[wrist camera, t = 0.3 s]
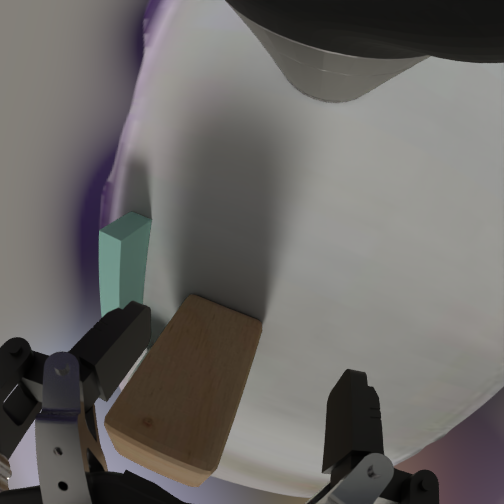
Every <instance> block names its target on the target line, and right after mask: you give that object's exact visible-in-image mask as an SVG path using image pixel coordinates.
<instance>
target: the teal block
mask: <svg viewBox="0 0 504 504" xmlns="http://www.w3.org/2000/svg"><path fill="white" fill-rule="evenodd" d="M151 222H152V220H151V219H149V218H147V217H144V216H142V215H139V214H137V213H134V212H132V211H131V212H129V213H127V214H126V215H124V216H122V217H121V218H119V219H117V220H116V221H114V222H112V223H111V224H109V225H107V226H106V227H104V228H102V229H101V230H99V282H100V300H101V314H102V317H103V316H104V315H105V314H106V313H107V312H109V311H112V310H114V309H116V308H118V307H119V308H121V309H124V308H125V306H126V305H127V304H128V303H129V302H131V301H136V302H138V303H141V304H143V291H144V279H145V269H146V260H147V251H148V243H149V236H150V229H151Z"/></svg>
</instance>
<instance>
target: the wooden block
mask: <svg viewBox="0 0 504 504" xmlns="http://www.w3.org/2000/svg"><path fill="white" fill-rule="evenodd" d="M261 333H262V323H261V322H260V321H259V320H257V319H255V318H252V317H249V316H247V315H244V314H242V313H239V312H237V311H234V310H231V309H229V308H226V307H224V306H221V305H219V304H217V303H214V302H212V301H209V300H207V299H204V298H202V297H200V296H197V295H189V296H188V297H187V298H186V299H185V301H184V302H183V303H182V305H181V306H180V308H179V309H178V310H177V312H176V313H175V315H174V316H173V317H172V319H171V320H170V322H169V323H168V325H167V326H166V327H165V329H164V330H163V332H162V333H161V335H160V336H159V338H158V339H157V340H156V342H155V343H154V345H153V346H152V348H151V349H150V351H149V352H148V353H147V355H146V356H145V358H144V359H143V361H142V362H141V364H140V365H139V367H138V368H137V370H136V371H135V373H134V374H133V376H132V377H131V379H130V380H129V381H128V383H127V384H126V386H125V387H124V389H123V390H122V392H121V394H120V395H119V397H118V398H117V400H116V401H115V403H114V404H113V406H112V407H111V409H110V410H109V412H108V413H107V415H106V416H105V421H104V426H105V428H106V430H107V432H108V435H109V437H110V439H111V441H112V443H113V445H114V447H115V449H116V450H117V452H118V453H119V454H120V455H122V456H124V457H126V458H128V459H130V460H131V461H133V462H135V463H137V464H139V465H141V466H144V467H146V468H147V469H150V470H152V471H154V472H156V473H158V474H161V475H163V476H165V477H167V478H170V479H172V480H175V481H177V482H180V483H182V484H185V485H188V486H191V487H199V486H200V485H201V484H202V483H203V482H204V481H205V480H206V479H207V478H208V477H209V476H210V475H211V474H212V473H213V472H214V471H215V470H216V469H217V467H218V464H219V461H220V459H221V456H222V453H223V450H224V447H225V444H226V441H227V439H228V436H229V433H230V430H231V427H232V424H233V421H234V418H235V415H236V412H237V409H238V406H239V403H240V400H241V397H242V394H243V390H244V387H245V384H246V381H247V378H248V375H249V372H250V369H251V365H252V362H253V359H254V356H255V352H256V349H257V346H258V343H259V339H260V336H261Z"/></svg>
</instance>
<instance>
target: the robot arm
mask: <svg viewBox="0 0 504 504" xmlns="http://www.w3.org/2000/svg"><path fill="white" fill-rule="evenodd" d="M225 1H226V2H227V3H228V4H229V5H230V6H231V8H232V9H233V10H234V11H235V12H236V13H237V14H238V16H239V17H240V18H241V19H242V20H243V22H244V23H245V24H246V25H247V26H248V27H249V28H250V30H251V31H252V32H253V33H254V35H255V36H256V37H257V39H258V40H259V41H260V42H261V44H262V45H263V46H264V48H265V49H266V50H267V52H268V53H269V54H270V56H271V57H272V58H273V60H274V61H275V63H276V64H277V65H278V67H279V68H280V70H281V71H282V72H283V74H284V75H285V77H286V78H287V80H288V81H289V82H290V83H291V84H292V85H293V86H294V87H295V88H296V89H297V90H299V91H300V92H302V93H303V94H305V95H307V96H309V97H311V98H313V99H316V100H320V101H323V102H332V103H340V102H348V101H351V100H354V99H357V98H359V97H361V96H362V95H364V94H366V93H368V92H370V91H371V90H373V89H375V88H376V87H378V86H380V85H381V84H383V83H385V82H386V81H388V80H390V79H391V78H393V77H395V76H397V75H398V74H400V73H402V72H404V71H405V70H407V69H409V68H411V67H412V66H414V65H416V64H417V63H419V62H421V61H423V60H425V59H427V58H429V57H430V56H434V57H438V58H443V59H449V60H455V61H463V62H473V63H503V62H504V0H225ZM150 337H151V310H150V307H148V306H146V305H143V304H141V303H138V302H136V301H131V302H129V303H128V304H127V305H126V306H125V308H124V309H121V308H119V307H118V308H116V309H114V310H112V311H109V312H107V313H106V314H105V315H104V316H103V317H102V318H101V319H100V321H99V322H97V323H96V324H95V325H94V327H93V328H91V329H90V330H89V331H88V332H87V333H86V334H85V335H84V336H83V337H82V338H81V340H80V341H78V343H77V344H76V345H75V346H74V347H73V348H72V349H71V350H70V351H68V352H56V353H54V354H52V355H50V356H48V355H45V354H42V353H39V352H35V351H32V350H31V347H30V345H29V343H28V342H27V341H26V340H25V339H23V338H20V337H16V338H12V339H9V340H8V341H6V342H5V343H4V345H2V346H1V348H0V504H190V503H185V502H183V501H181V500H179V499H178V498H176V497H174V496H173V495H171V494H170V493H168V492H167V491H165V490H164V489H162V488H161V487H159V486H158V485H157V484H155V483H153V482H151V481H149V480H146V479H144V478H142V477H140V476H138V475H136V474H134V473H132V472H130V471H128V470H125V472H124V474H122V473H117V472H109V471H108V469H107V465H106V461H105V457H104V454H103V451H102V449H101V445H100V441H99V435H98V428H97V420H96V413H95V405H94V403H95V401H96V400H97V399H98V397H99V398H101V399H102V400H104V401H106V402H107V401H108V400H109V398H110V397H111V395H112V394H113V393H114V391H115V390H116V389H117V387H118V386H119V384H120V383H121V382H122V380H123V379H124V377H125V376H126V375H127V373H128V372H129V371H130V369H131V368H132V366H133V365H134V364H135V362H136V361H137V360H138V358H139V357H140V355H141V354H142V353H143V351H144V350H145V349H146V347H147V346H148V344H149V341H150ZM17 384H18V386H17V387H16V388H15V389H14V387H15V386H16V385H17ZM13 389H14V391H13V392H12V393H11V391H12V390H13ZM10 393H11V394H10ZM9 394H10V396H9V397H8V398H7V396H8V395H9ZM6 398H7V400H6V401H5V402H4V400H5V399H6ZM41 410H42V411H41ZM40 411H41V413H40ZM380 419H381V412H380V403H379V397H378V395H377V393H376V391H375V389H374V387H370V386H368V384H367V375H366V373H365V372H361V371H356V370H351V369H347V370H346V371H345V372H344V373H343V375H342V376H341V378H340V379H339V381H338V382H337V384H336V385H335V386H334V388H333V389H332V391H331V392H330V395H329V397H328V401H327V413H326V430H325V443H324V455H323V465H322V473H324V474H331V479H330V481H329V482H328V483H327V484H326V485H325V486H324V487H322V488H321V489H320V490H319V491H318V492H317V493H316V494H315V495H314V496H313V497H311V498H310V499H309V500H308V501H307V502H306V503H305V504H439V483H438V479H437V477H436V475H435V474H434V473H433V472H431V471H429V470H420V471H418V472H416V473H415V474H410V473H407V472H404V471H400V470H397V469H395V468H394V467H393V464H392V462H391V460H390V459H389V458H388V457H386V456H385V455H384V449H383V434H382V422H381V420H380ZM34 420H35V435H36V436H35V437H36V454H37V465H38V474H39V482H40V485H39V486H33V487H27V488H20V489H13V490H9V488H8V478H10V477H11V475H12V472H11V470H10V464H9V462H8V460H9V458H10V456H11V455H12V453H13V452H14V450H15V448H16V447H17V445H18V444H19V442H20V441H21V439H22V438H23V436H24V434H25V433H26V431H27V430H28V429H29V427H30V426H31V424H32V423H33V421H34Z"/></svg>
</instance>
